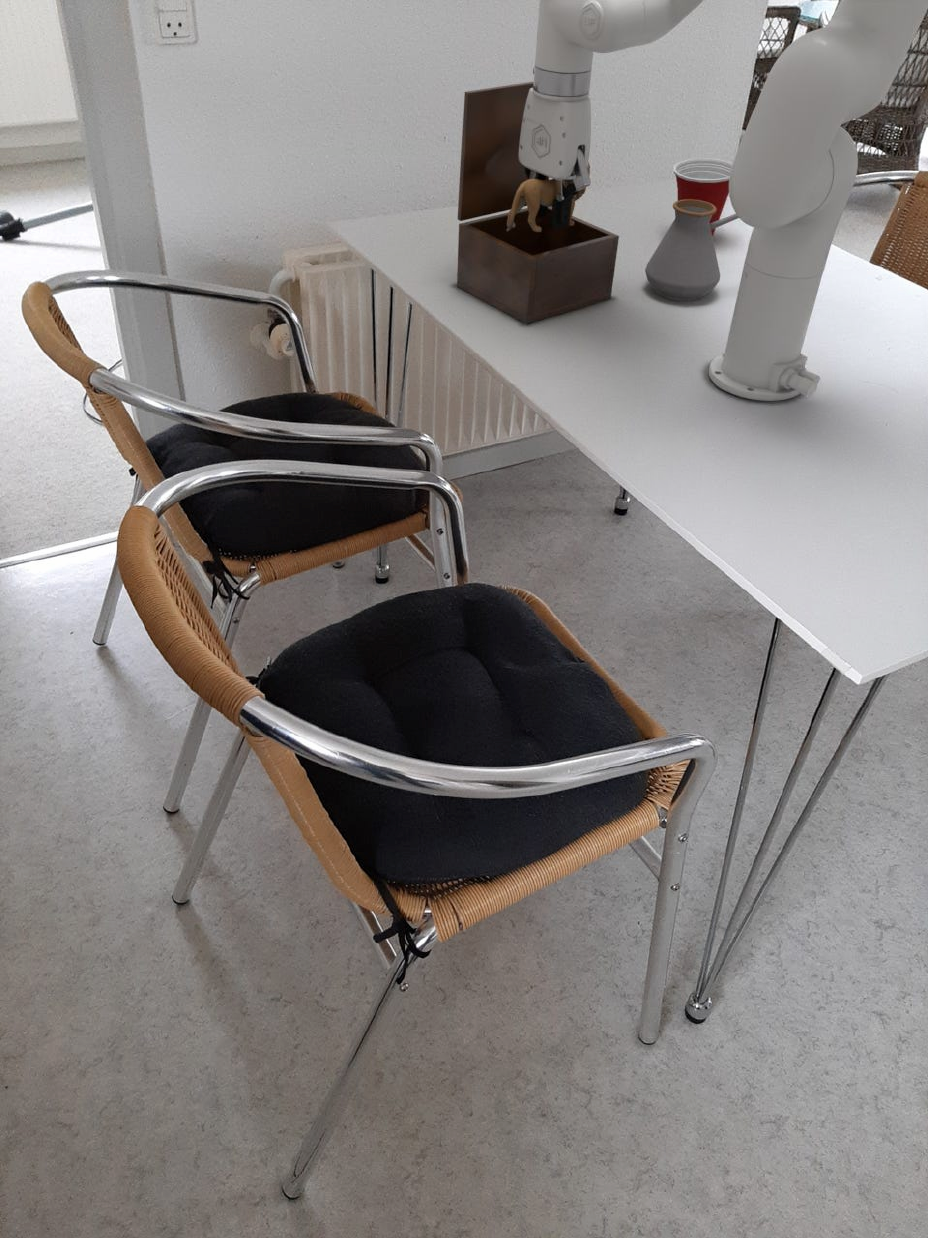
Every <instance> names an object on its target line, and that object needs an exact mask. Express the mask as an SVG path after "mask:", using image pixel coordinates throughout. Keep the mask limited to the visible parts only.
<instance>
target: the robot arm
mask: <svg viewBox="0 0 928 1238" xmlns="http://www.w3.org/2000/svg"><path fill="white" fill-rule="evenodd" d="M703 2H704V0H539V7H538V19H537V31H536V45H535V59H534V67H533V69H532V74H533V81H532V82H533V88H531V89H530V90H529V93H528V96H527V100H526V104H525V109H524V114H523V120H522V126H521V134H520V143H519V156H518V159H519V162H520V163H521V165H522V166H523V168H524V169H525V173H526V176H527V178H528V180H529V179H539V180H548V178H549V179H555V180H556V199H555V200H553V202H552V213H551V223H550V226H551V228H552V229H558V228H562V227H566V226H568V225H569V223H570V213H571V204H572V199H573V198H575V197H576V194H577V193H578V192H580V191H581V190H582V189H584V188H586V189H587V187H590V186H591V184H592V181H591V177H590V175H589V173H588V170H587V166H588V161H589V160H590V152H591V151H590V150H591V137H592V105H591V98H590V96H589V95H590V89H591V80H592V79H591V77H592V71H593V69H592V67H593V58H594V53H597V54H609V53H613V52H619V51H623V50H626V49H630V48H635V47H640V46H644V45H648V44H651V43H653V42H656V41H658V40H660V39H661V38H663V37H664V36H666V35H667V34H668V33H670V32H671V31H672V30H673V29H675V28H676V26H678V25H679V24H680V23H681V22H682V21H683V20H684V19H686V18H687V17H688V15H690V14H691V13H692V12H693V11H695V10H696V9H697V8H698V7H699V6H700V5H701V4H702V3H703ZM927 12H928V0H840V1H839V4H838V6H837V8H836V9H835V11H834V14H833V16H832V18H831V19H830V21H829V22H828V24H827V25H826V26H824V27H820V28H817V29H814V30H811V31H809V32H807V33H805V34H803V35H801V36H799V37H797V38H796V39H795V40H794V41H792V42H791V43H790V44H789V45H788V46H787V47H786V48H785V49H784V50H783V51H782V53H781V54H780V55H779V57H778V58H777V60H776V61H775V62H774V64H773V66H772V67H771V69H770V71H769V73H768V75H767V77H766V79H765V82H764V84H763V85H762V88H761V92H760V94H759V96H758V99H757V101H756V104H755V106H754V109H753V111H752V114H751V116H750V118H749V121H748V123H747V126H746V129H745V131H744V133H743V135H742V138H741V141H740V143H739V146H738V148H737V151H736V154H735V156H734V159H733V162H732V163H733V165H732V168H731V172H730V178H729V194H728V196H729V201H730V204H731V207H732V209H733V211H734V214H737V216H738V217H739V218H738V219H739V220H740V221H742V222H743V223H744V224H746V225H748V226H750V227H752V228H753V229H752V232H751V235H750V239H749V243H748V247H747V250H746V255H745V259H744V264H743V269H742V272H741V278H740V281H739V287H738V290H737V295H736V299H735V304H734V310H733V313H732V318H731V322H730V326H729V332H728V336H727V340H726V345H725V349H724V353H722V354H719V355H718V356H716V357H714V358H713V359H712V360H711V361H710V363H709V367H708V376H709V379H710V380H711V381H712V383H714V384H715V385H716V386H717V387H718V388H719V389H722V390H723V391H725V392H727V393H729V394H732V395H735V396H737V397H740V398H744V399H747V400H753V401H762V402H777V401H785V400H789V399H793V398H794V397H796V396H798V395H800V394H801V395H803V396H806V397H807V398H810V397H812V396H813V395H814V394H815V393H816V391H817V388H818V384H819V382H820V380H821V376H819V375H818V374H816V373H813V372H811V371H808V370H807V368H806V365H807V361H808V357H809V356H807V355H805V354H803V353H802V350H803V347H804V343H805V340H806V336H807V332H808V329H809V324H810V322H811V318H812V314H813V311H814V306H815V304H816V300H817V295H818V292H819V288H820V285H821V281H822V277H823V274H824V272H825V268H826V265H827V261H828V257H829V255H830V250H831V247H832V244H833V240H834V238H835V234H836V232H837V228H838V226H839V223H840V221H841V218H842V215H843V214H844V212H845V208H846V207H847V204H848V201H849V200H850V197H851V194H852V191H853V189H854V186H855V182H856V180H857V179H856V178H857V174H858V166H859V156H858V149H857V146H856V143H855V141H854V139H853V138H852V136H851V135H850V133H849V132H848V131H847V130H846V129H845V128H843V127H842V125H843V124H846V123H848V122H850V121H853V120H856V119H859V118H861V117H863V116H865V115H867V114H868V113H869V112H871V111H873V110H874V109H876V108H877V107H878V106H879V105H880V104H881V102H883V101H884V99H885V98H886V97H887V94H888V93H889V91H890V89H891V87H892V85H893V82H894V80H895V79H896V76H897V74H898V72H899V70H900V68H901V66H902V63H903V61H904V59H905V57H906V55H907V54H908V51H909V49H910V47H911V45H912V43H913V41H914V40H915V36H916V34H917V33H918V30H919V28H920V26H921V24H922V22H923V20H924V18H925V16H926V14H927ZM564 181H567V182H568V185H567V186H566V187H565V188H564ZM547 213H548V207H547V206H543V205H541V204H540V208H539V210H538V212H537V215H536V218H540V217H544V216H546V215H547ZM536 218H535V219H536Z"/></svg>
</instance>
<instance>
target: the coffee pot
mask: <svg viewBox="0 0 928 1238" xmlns="http://www.w3.org/2000/svg"><path fill="white" fill-rule="evenodd" d="M672 208H673V210H674V220H673V221H672V223H671V224H670V226H669V228H667V230H666V233H665V235H664V236H663V238H662V239H661V241H660V242H659V244H658V245H657V248H656V249H655V250H654V252H653V254H652V256H651V257H650V258H649V260H648V262H647V264H646V265H645V269H644V272H645V275H646V279H647V281H648V283H649V284H650V285H651V287H652V288H654V291H655V292H656V293H657V294H658V295H660V296H662V297H664V298H666V299H670V300H674V301H675V300H676V301H687V302H688V301H695V300H696V301H697V300H699V299H701V298H703V297H704V296H705V295H707V294H709V293H710V292H712V291H713V290H714V288H716V286H717V285H718V284H719V282H720V281H721V272H720V271H721V270H720V266H719V262H718V258H717V252H716V247H715V242H714V238H713V237H714V236H713V237H712V232H711V230H712V229H715V228H716V229H717V228H719V227H721V226H724V225H726V224H728V223H731V222H733V221H736V220H738V219H740V218H739V217H738V216H737V214H736V213H734V214H731V215H728V216H725V217H723V218H720V219H719V220H718V221H715V222H712V223H709V222H710V220H711V217H712V215H713V214H714V213H716V210H717V209H716V207H715V206H714V205H713V204H711V203H708V202H705V201H700V200H690V199H687V200H679V201H678V200H676V201H674V202H673V203H672ZM716 229H715V230H716Z"/></svg>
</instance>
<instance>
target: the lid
mask: <svg viewBox="0 0 928 1238" xmlns="http://www.w3.org/2000/svg"><path fill="white" fill-rule="evenodd" d="M533 82H534V81H527V82H522V83H513V84H507V85H502V86H495V87H488V88H480V89H473V90H468V91H464V96H463V97H464V98H463V118H462V132H461V134H462V135H461V149H460V151H461V152H460V166H459V167H460V169H459V171H460V172H459V186H458V187H459V188H458V204H457V220H458V221H460V222H463V221H467V220H472V219H476V218H480V217H485V216H490V215H494V214H497V213H503V212H506V211H510V210H511V209H512V205H513V201H514V198H515V195H516V192H517V190H518V188H519V187H520V185H521V184H522V183H523V182H524V181H526V180H528V178H527V176H526V173H525V169H524V168H523V166H522V165H521V163H520V162H519V159H518V156H519V143H520V134H521V126H522V120H523V114H524V109H525V104H526V100H527V96H528V93H529V90H530V89H531V88H533ZM548 180H550V177H549V178H548ZM524 207H527V204H525V206H524Z"/></svg>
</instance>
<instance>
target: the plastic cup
mask: <svg viewBox="0 0 928 1238" xmlns="http://www.w3.org/2000/svg"><path fill="white" fill-rule="evenodd" d="M732 165H733V162H731V161H727V160H725V159H718V158H710V157H697V158H689V159H685V160H681V161H678V162H677V163H675V164H674V165H673V174H674V175H675V180H676V181H675V182H676V188H677V201H679V200H687V199H690V200H700V201H705V202H708V203H711V204H713V205H714V206H715V207H716V209H717V210H716V213H714V214H713V215H712V217H711V220H710V222H709V223H712V222H715V221H718V220H720V219H721V216H722V214H723V210H724V208H725V205H726V203H727V199H728V196H729V178H730V172H731V168H732ZM716 229H717V228H715V229H712V230H711V232H712V237H714V235H715V231H716Z"/></svg>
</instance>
